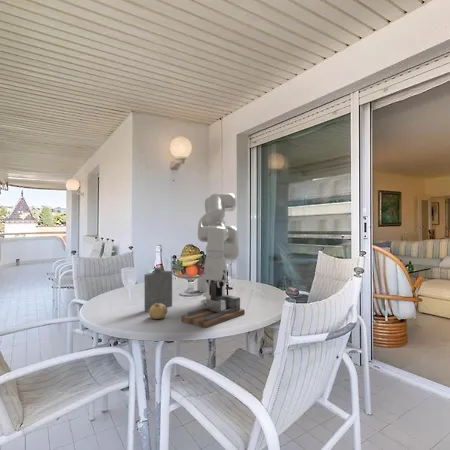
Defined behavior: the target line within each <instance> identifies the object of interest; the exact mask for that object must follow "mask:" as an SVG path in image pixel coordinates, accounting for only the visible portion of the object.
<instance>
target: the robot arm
mask: <svg viewBox="0 0 450 450" xmlns="http://www.w3.org/2000/svg"><path fill="white" fill-rule="evenodd" d="M236 207H237V199H236V196H235V194H234V193H232V192H231V193H229V192H227V193H223V192H222V193H213V194H211V195H210V196H209V197H207V198H205V200H204V211H205V214H203V215H202V216H201V218H200V219H199V221H198V224H197V239H198V241H200V242H202V243H207V245H206V246H205V255H206V256H205V261H204V269H203V275H204V279H205V280H206V281H207V292H204V293H203V294H202V296H203V297H204V298H205V299H204V304H206V299H208V298H211V282H213V281H217V288H216V296H217V297H219V296H222V294H225V295H227V294H226V292H227V290H226V287H227V286H226V284H227V283H228V282H229V279H228V277H227V276H228V273H227V272H228V271H227V270H228V269H227V262H226V261H236V260H238V259H239V257H240V241H239V231H238V228H237V227H236V226H234V225H225V219H224V218H225V216H226V214H225V212H234V211H235V209H236Z"/></svg>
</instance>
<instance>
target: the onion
mask: <svg viewBox="0 0 450 450" xmlns="http://www.w3.org/2000/svg"><path fill="white" fill-rule="evenodd" d="M148 314H149V316H150V318H151V319H153V320H159V319H164V318H165V317H166V315H167V314H168V307H166V306H165V305H163V304H161V303H155V304H154V305H152V306H151V308H150V309H149V312H148Z"/></svg>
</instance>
